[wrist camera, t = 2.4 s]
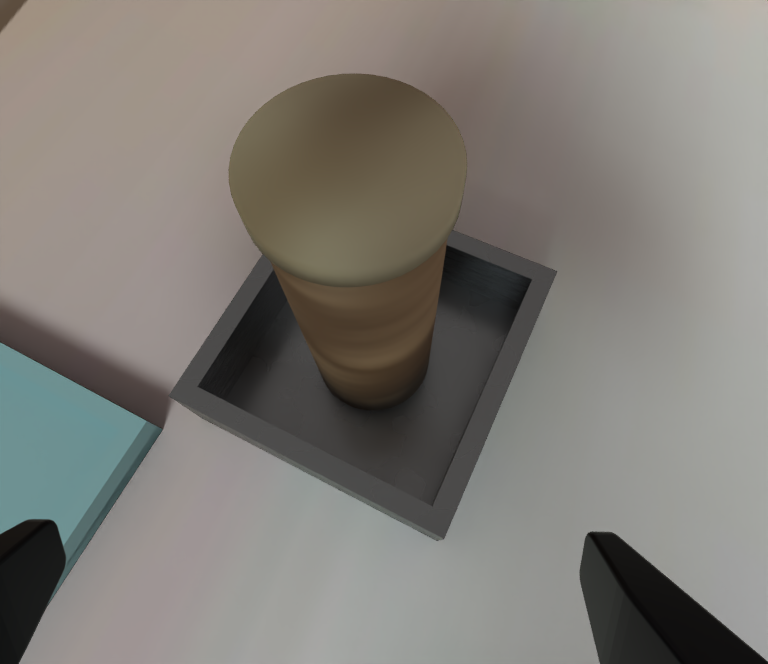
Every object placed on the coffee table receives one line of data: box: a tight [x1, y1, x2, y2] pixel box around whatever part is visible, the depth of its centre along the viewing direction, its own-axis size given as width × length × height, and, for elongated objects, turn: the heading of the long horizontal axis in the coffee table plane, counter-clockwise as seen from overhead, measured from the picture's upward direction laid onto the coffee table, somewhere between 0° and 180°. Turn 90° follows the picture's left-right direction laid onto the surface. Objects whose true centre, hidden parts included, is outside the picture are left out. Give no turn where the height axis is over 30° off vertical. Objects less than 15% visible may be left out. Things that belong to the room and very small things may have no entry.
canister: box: [229, 74, 467, 411], centre depth 18 cm, size 5×5×13 cm
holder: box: [169, 230, 557, 541], centre depth 23 cm, size 12×12×4 cm
